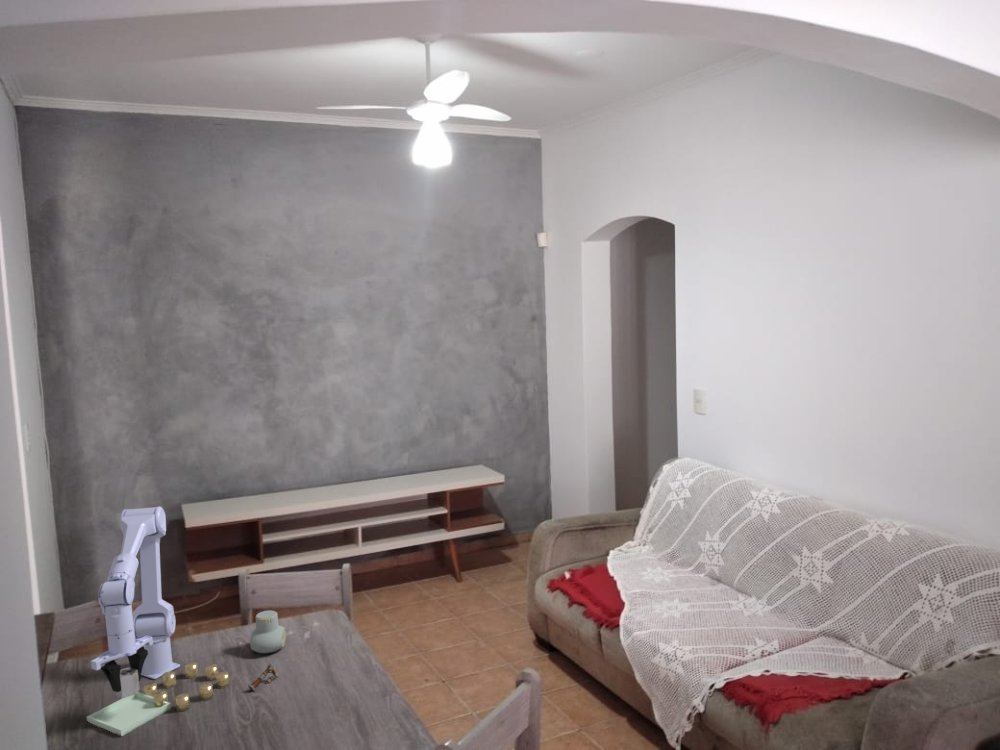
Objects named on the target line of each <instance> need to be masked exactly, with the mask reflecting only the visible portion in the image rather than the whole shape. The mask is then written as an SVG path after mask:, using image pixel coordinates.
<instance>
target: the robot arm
mask: <svg viewBox="0 0 1000 750" xmlns="http://www.w3.org/2000/svg"><path fill="white" fill-rule="evenodd" d="M166 519H167V516H166V513H165V510H164V509H163V507H162V506H155V507H154V506H153V507H143V508H132V509H131V508H130V509H129V508H124V509H123V510H122V511H121V513H120V516H119V527H120V530H121V533H122V535H123V538H122V544H121V547H120V553H119V554H118V555H116V556H115V557H114V558H113V560H112V564H111V566H110V569H109V572H108V576H107V579H106V581H104V583H102V584H101V585H100V586H99V588H98V589H99V590H98V603H99V606H100V608H101V612H102V613H101V614H102V615H103V616H104V619H105V628H106V634H107V635H106V636H107V647H108V649H107V650H106V651H105V652H103V653H101V654H100V655H99V656H97V657H96V658H94V659H92V660H91V661H90V665H91V670H93V671H99V670H101V671H102V672H103V674H104V675H105V677H106V679H107V680H108V682H109V684H110V686H111V689H112V691H113V692H114V693H115V692H119V691H120V690H121V685H120V670H121V669H122V665H120V664H118V663H117V662H116V661H118V660H120V659H121V658H124V657H127V659H128V664H129V667H132V668H135V669H138V678H139V682H140V681H141V677H142V676H144V677H146V678H150V679H152V680H157V679H159V678H160V677H162V675H163V674H164V673H165V672H169V671H175V670H176V669H178V668H180V666H181V664H180V663H176V662H174V661H173V655H172V646H171V637H172V635H173V634H174V633H175V630H176V623H177V622H176V615H175V610H174V609H175V608H174V606H173V605H172V604H171V603H169V602H168V601H166V600H164V599H163V598H162V595H163V594H162V573H161V572H162V571H161V552H160V551H161V550H160V549H161V548H160V543H161V538H163V537H164V536H166V532H167V520H166ZM138 552H139V558H140V561H139V560H138V557H137V555H138ZM139 562H140V583H141V603H140V604H139V605H138V606H137V607H135V609H134V610H133V607H132V603H133V602H134V598H135V587H136V583H135V577H136V574H137V570H138V568H139Z"/></svg>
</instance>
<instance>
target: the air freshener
mask: <svg viewBox="0 0 1000 750" xmlns="http://www.w3.org/2000/svg"><path fill="white" fill-rule="evenodd" d="M255 627H256V628H255V629H253V631H252V633H251V634H250V635H251V636H250V643H249V644H250V649H251V650H252V651H253V652H255V653H258V654H270V653H274V652H277V651H280V649H283V648H284V647H285V645H286V637H287V632H286V631H287V630H286V628H285V627H284V626H282V625H279V617H278V612H277V611H275V610H270V609H269V610H264V611H261V612H259V613H257V614H256V615H255Z"/></svg>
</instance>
